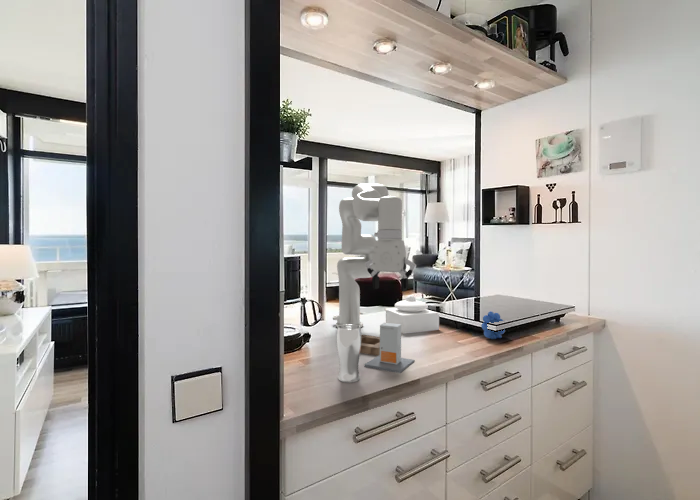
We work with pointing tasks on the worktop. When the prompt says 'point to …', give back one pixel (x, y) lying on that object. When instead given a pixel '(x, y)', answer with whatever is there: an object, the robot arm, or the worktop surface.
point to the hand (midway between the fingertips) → (389, 289)
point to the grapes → (491, 318)
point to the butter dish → (412, 316)
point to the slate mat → (389, 365)
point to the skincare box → (390, 343)
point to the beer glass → (349, 352)
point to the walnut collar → (370, 345)
